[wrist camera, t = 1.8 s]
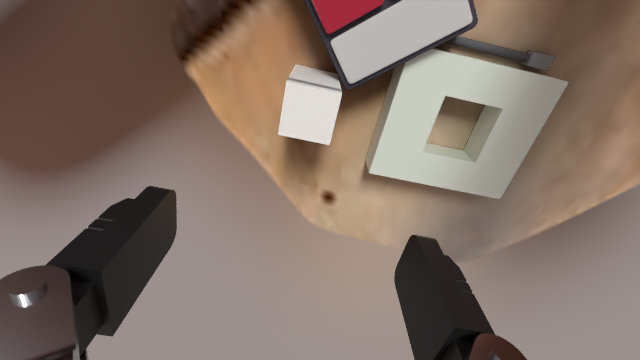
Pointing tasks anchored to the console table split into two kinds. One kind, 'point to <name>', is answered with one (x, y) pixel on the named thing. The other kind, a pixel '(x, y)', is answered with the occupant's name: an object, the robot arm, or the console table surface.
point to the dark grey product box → (385, 32)
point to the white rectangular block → (310, 104)
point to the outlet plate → (487, 136)
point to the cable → (507, 52)
